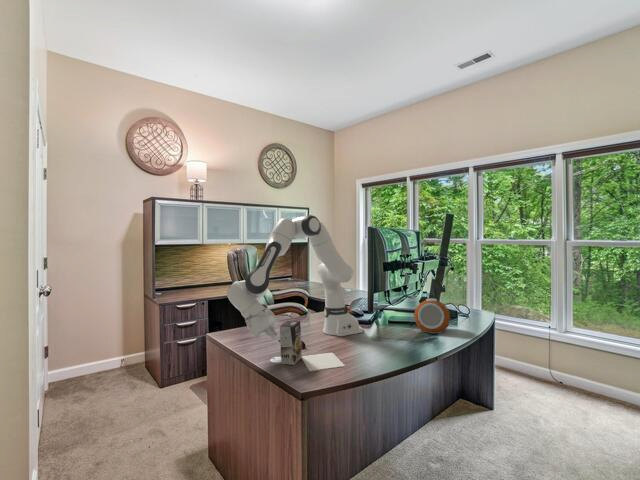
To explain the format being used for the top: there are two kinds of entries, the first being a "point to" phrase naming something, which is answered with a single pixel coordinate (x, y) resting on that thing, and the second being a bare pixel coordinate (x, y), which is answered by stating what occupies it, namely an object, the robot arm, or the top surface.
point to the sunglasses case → (301, 344)
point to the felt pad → (322, 361)
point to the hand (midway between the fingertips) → (275, 336)
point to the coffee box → (290, 342)
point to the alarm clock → (432, 316)
